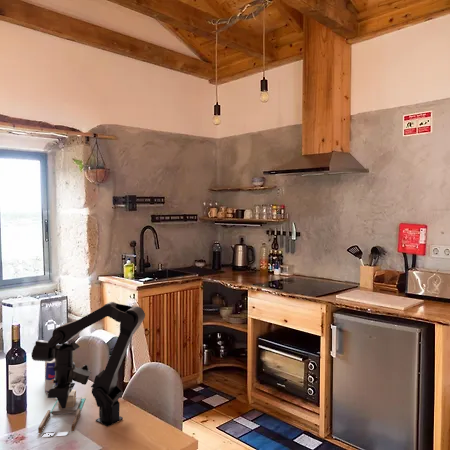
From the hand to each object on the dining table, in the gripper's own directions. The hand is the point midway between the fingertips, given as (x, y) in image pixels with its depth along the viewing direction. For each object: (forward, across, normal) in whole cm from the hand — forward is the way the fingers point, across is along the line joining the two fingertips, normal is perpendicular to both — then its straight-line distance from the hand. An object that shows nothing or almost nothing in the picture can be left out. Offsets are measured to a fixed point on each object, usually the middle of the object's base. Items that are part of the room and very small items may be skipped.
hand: (63, 407), depth 142 cm
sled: (+3, +6, 0) cm, 7 cm away
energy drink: (+3, +22, +9) cm, 24 cm away
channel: (+3, -6, 0) cm, 7 cm away
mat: (+3, +8, 0) cm, 9 cm away
